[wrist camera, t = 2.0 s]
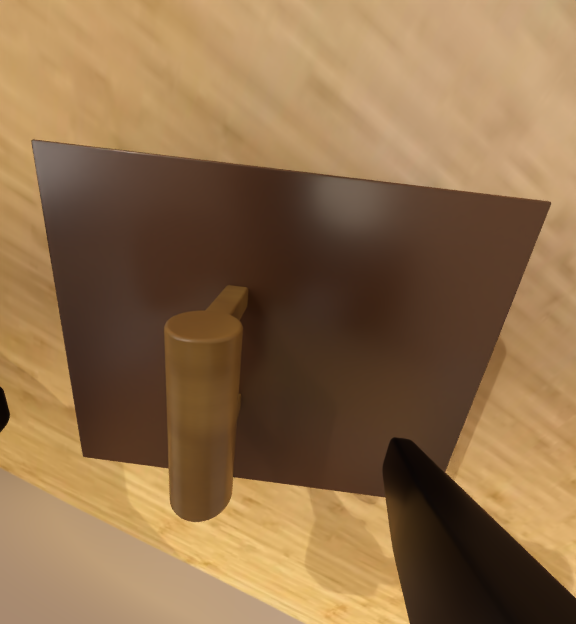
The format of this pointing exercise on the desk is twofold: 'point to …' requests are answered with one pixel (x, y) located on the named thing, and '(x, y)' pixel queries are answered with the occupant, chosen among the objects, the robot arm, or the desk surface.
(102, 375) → the box door
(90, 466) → the desk surface
